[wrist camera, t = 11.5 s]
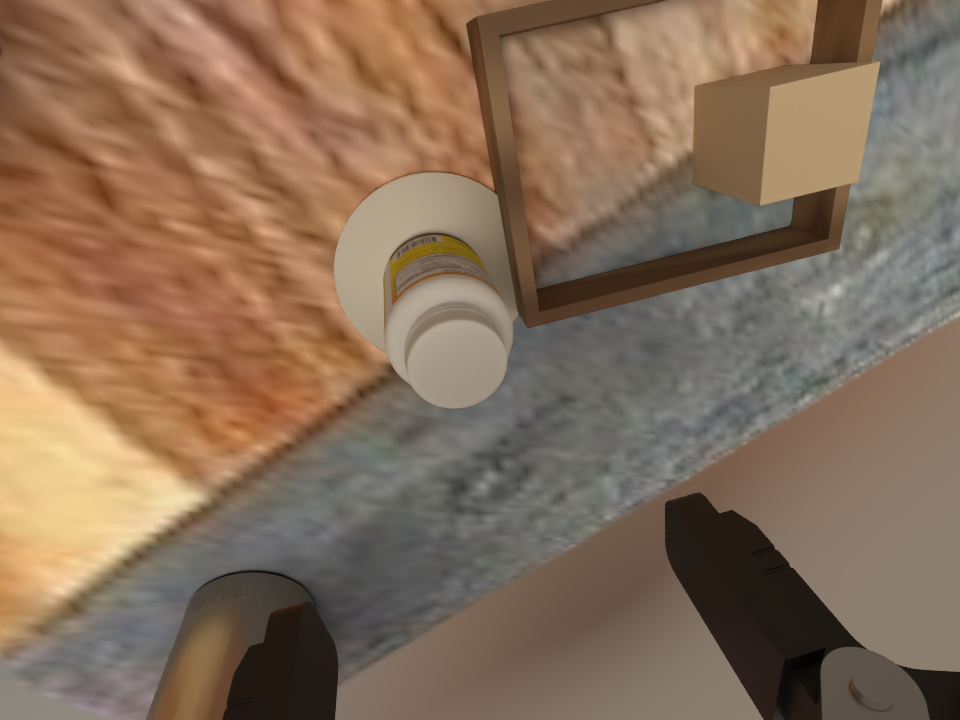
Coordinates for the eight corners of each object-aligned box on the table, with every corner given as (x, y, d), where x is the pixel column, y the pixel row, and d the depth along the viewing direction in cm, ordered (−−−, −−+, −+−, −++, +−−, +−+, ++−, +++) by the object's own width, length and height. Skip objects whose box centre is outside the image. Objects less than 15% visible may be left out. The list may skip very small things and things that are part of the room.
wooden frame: (801, 235, 32) (839, 248, 29) (514, 307, 31) (527, 328, 28) (840, -59, 24) (895, -75, 22) (466, 23, 23) (477, 16, 21)
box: (773, 163, 29) (858, 181, 24) (692, 183, 29) (760, 205, 24) (783, 65, 27) (880, 61, 22) (694, 86, 26) (770, 87, 21)
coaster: (540, 333, 32) (543, 338, 31) (369, 377, 31) (368, 382, 31) (513, 149, 26) (515, 151, 26) (304, 198, 26) (303, 200, 25)
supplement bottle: (452, 338, 30) (481, 444, 21) (366, 298, 28) (359, 397, 19) (501, 257, 28) (555, 338, 20) (412, 208, 26) (428, 273, 17)
